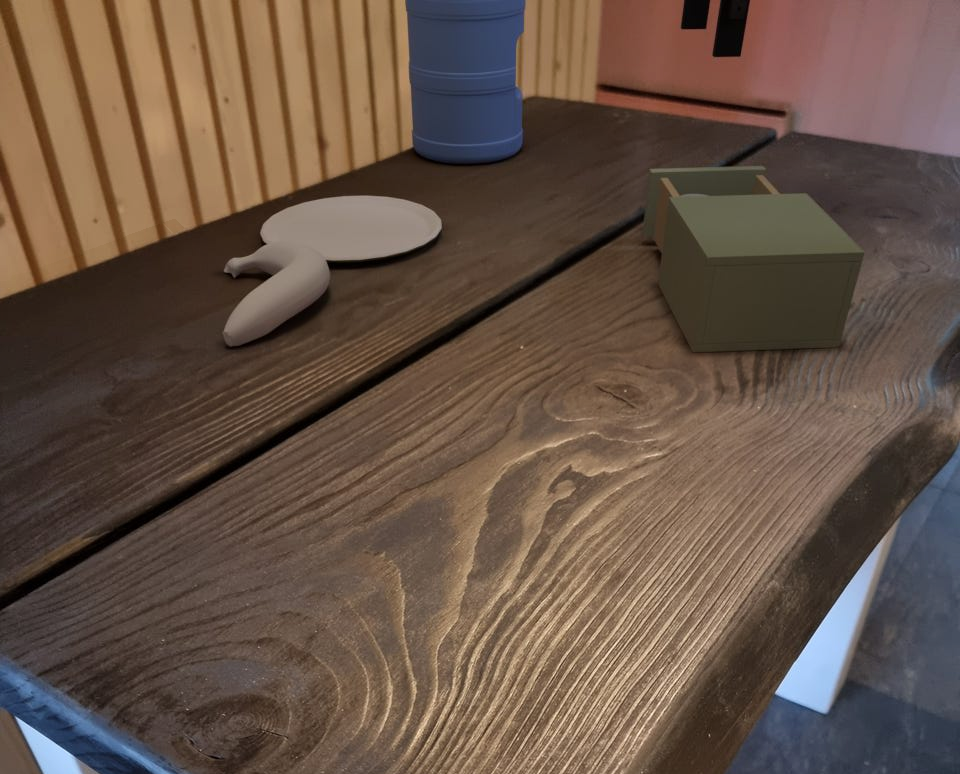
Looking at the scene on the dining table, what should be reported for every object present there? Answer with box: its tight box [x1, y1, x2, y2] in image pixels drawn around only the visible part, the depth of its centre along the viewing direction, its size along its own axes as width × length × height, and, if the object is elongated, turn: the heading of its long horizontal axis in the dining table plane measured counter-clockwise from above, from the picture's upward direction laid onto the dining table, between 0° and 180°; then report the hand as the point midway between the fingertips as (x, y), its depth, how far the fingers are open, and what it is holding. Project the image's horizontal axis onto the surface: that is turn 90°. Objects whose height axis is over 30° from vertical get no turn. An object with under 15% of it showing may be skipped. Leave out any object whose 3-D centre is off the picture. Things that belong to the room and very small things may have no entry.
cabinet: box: [657, 192, 865, 353], centre depth 87 cm, size 16×14×9 cm
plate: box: [259, 195, 443, 264], centre depth 106 cm, size 21×21×1 cm
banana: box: [221, 241, 331, 348], centre depth 91 cm, size 5×19×15 cm
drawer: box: [642, 165, 781, 254], centre depth 98 cm, size 19×12×7 cm, turn 3°
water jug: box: [404, 0, 527, 165], centre depth 122 cm, size 16×16×28 cm
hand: (708, 42), depth 98 cm, fingers open, 13 cm apart
